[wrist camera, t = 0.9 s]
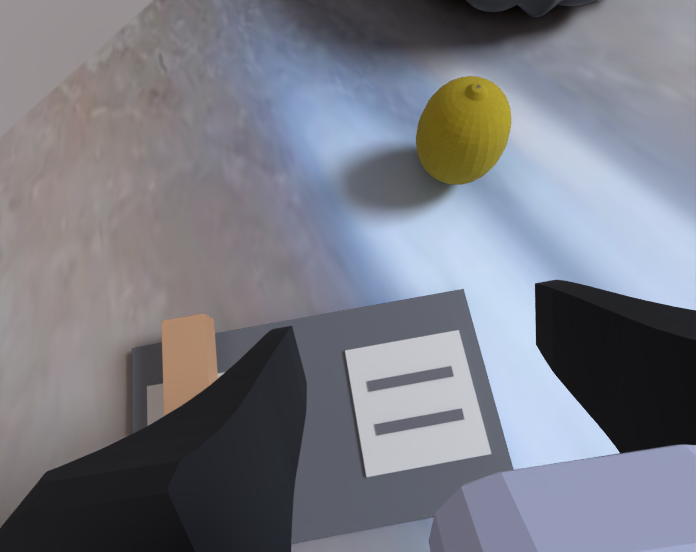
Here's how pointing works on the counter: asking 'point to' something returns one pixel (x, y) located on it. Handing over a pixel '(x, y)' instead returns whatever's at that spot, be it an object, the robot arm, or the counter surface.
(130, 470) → the robot arm
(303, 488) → the panel
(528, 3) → the bundt pan
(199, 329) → the bar
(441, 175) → the lemon
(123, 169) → the counter surface
